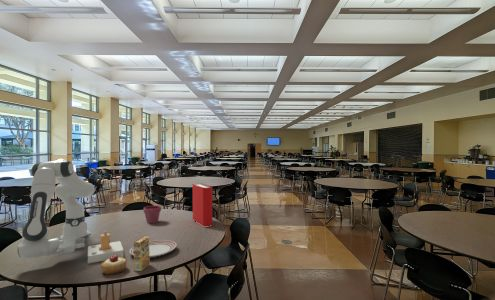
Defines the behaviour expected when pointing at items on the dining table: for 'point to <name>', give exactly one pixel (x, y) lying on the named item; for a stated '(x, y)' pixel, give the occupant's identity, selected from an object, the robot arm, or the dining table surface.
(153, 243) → the dinner plate
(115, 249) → the housing
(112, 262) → the pastry
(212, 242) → the dining table surface
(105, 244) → the block
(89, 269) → the dining table surface
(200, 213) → the book
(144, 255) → the candy box
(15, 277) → the dining table surface
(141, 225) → the dining table surface
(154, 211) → the plant pot
